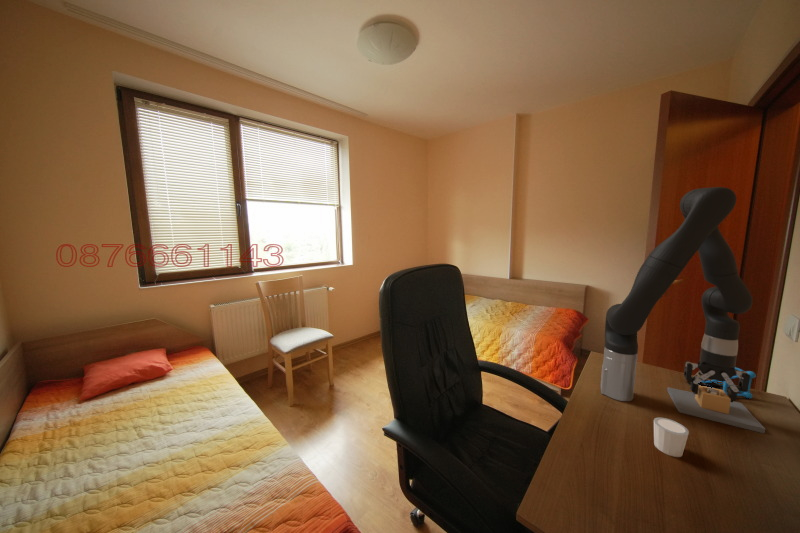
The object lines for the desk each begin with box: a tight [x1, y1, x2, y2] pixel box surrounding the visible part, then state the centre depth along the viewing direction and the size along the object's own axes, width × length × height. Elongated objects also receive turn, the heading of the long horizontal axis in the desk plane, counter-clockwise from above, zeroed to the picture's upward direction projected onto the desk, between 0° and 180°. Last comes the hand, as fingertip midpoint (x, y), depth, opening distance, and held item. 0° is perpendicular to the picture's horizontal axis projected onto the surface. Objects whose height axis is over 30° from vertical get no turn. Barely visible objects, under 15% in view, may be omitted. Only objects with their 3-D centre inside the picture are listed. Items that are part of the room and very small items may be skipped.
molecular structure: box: [701, 366, 757, 399], centre depth 99 cm, size 10×10×10 cm
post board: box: [666, 386, 766, 434], centre depth 90 cm, size 18×14×2 cm
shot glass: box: [653, 417, 690, 458], centre depth 74 cm, size 7×7×7 cm
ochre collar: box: [695, 385, 731, 414], centre depth 90 cm, size 6×6×5 cm
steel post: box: [707, 388, 719, 395], centre depth 90 cm, size 2×2×6 cm
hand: (711, 396), depth 90 cm, fingers open, 7 cm apart
